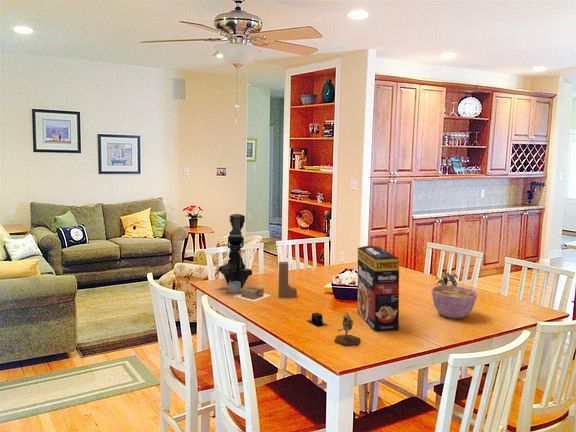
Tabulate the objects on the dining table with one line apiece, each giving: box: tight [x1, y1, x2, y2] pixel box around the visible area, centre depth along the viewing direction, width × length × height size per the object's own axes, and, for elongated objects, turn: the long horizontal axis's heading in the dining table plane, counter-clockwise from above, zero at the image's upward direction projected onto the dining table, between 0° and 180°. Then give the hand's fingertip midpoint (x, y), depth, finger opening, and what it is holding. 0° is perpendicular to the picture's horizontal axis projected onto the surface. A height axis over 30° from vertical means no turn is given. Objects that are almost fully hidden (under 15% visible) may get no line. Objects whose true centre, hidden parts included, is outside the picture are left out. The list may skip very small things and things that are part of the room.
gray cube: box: [227, 281, 243, 293], centre depth 263 cm, size 5×5×5 cm
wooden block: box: [277, 261, 298, 299], centre depth 253 cm, size 9×4×18 cm, turn 95°
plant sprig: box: [435, 270, 459, 286], centre depth 278 cm, size 11×11×12 cm
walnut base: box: [240, 285, 265, 300], centre depth 252 cm, size 8×8×4 cm
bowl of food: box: [431, 285, 478, 319], centre depth 229 cm, size 20×20×12 cm
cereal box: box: [357, 245, 400, 332], centre depth 217 cm, size 27×11×32 cm, turn 8°
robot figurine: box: [333, 312, 361, 347], centre depth 194 cm, size 11×9×12 cm
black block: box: [306, 312, 328, 328], centre depth 216 cm, size 12×7×5 cm, turn 32°
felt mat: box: [232, 293, 271, 302], centre depth 254 cm, size 14×14×1 cm
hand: (235, 286), depth 263 cm, fingers open, 9 cm apart
